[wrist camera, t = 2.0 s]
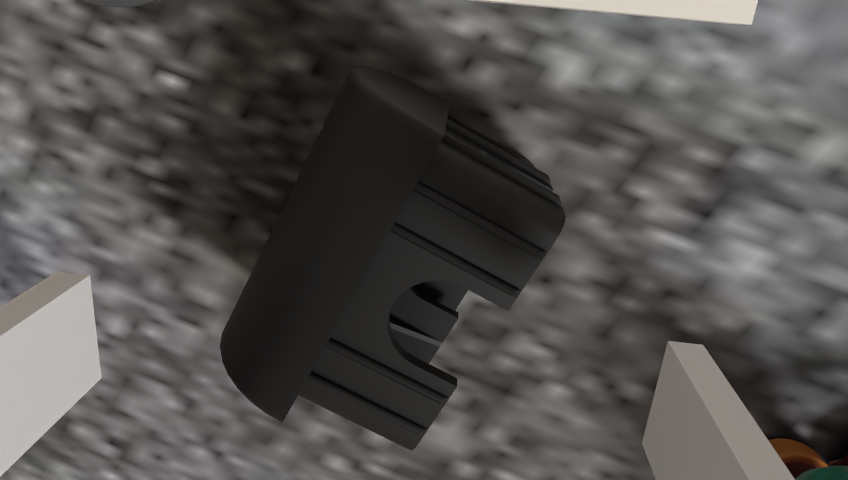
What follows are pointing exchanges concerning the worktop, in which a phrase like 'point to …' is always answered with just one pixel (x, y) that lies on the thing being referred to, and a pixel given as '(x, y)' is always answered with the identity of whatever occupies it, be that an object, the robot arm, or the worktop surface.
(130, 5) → the lens cap
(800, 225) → the worktop surface
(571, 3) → the mount tray
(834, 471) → the binoculars
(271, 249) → the end cap
